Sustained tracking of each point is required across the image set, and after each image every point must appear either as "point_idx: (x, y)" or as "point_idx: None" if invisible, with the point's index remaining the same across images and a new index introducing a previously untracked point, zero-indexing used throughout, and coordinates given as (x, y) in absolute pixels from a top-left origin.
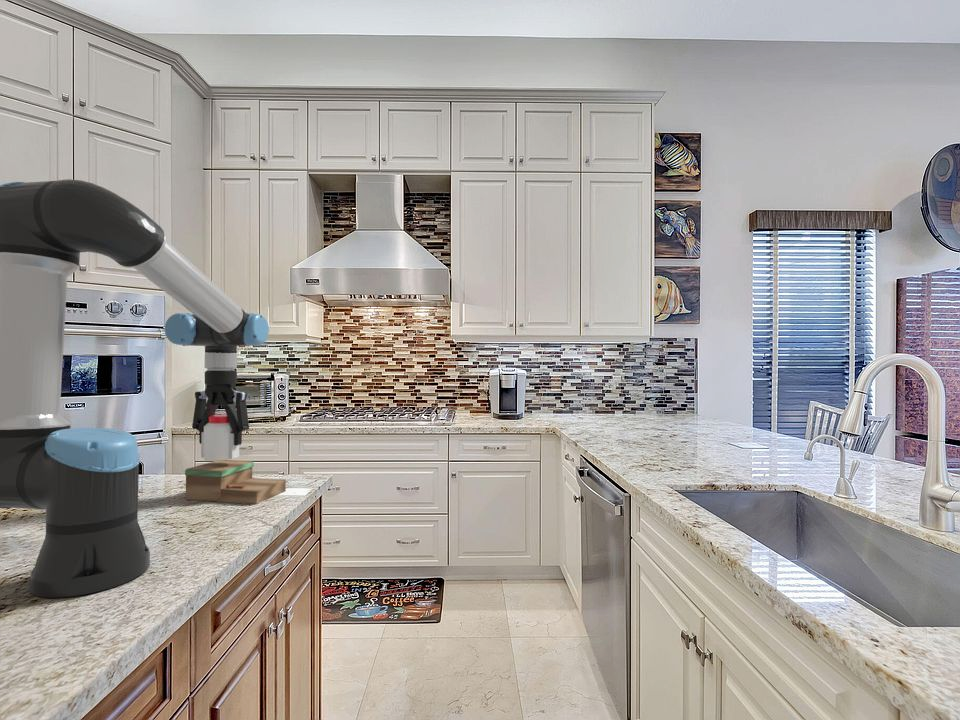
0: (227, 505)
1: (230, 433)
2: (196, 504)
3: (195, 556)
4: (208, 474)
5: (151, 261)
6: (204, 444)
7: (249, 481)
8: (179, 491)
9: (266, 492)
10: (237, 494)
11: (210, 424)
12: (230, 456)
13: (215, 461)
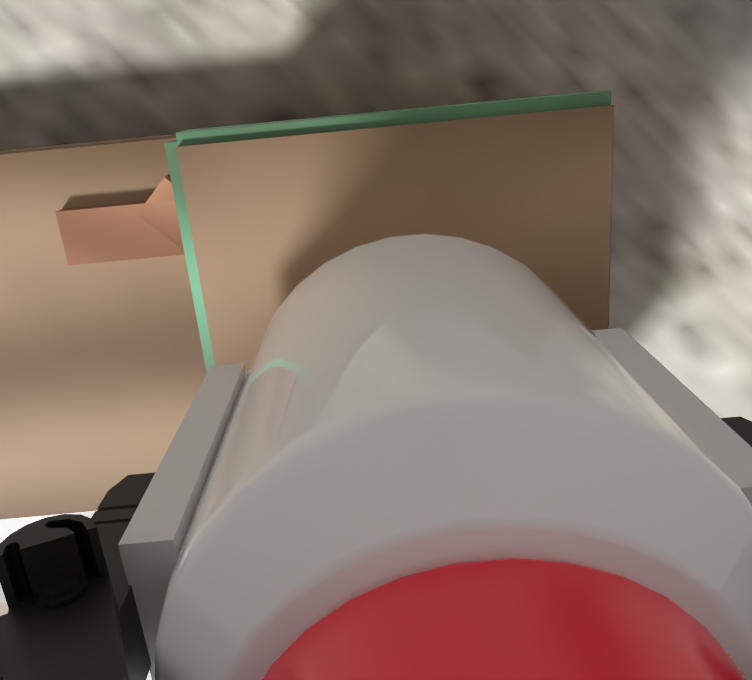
0: (95, 57)
1: (159, 541)
2: (338, 4)
3: None
4: (318, 118)
5: None
6: (545, 303)
7: None
8: (740, 252)
9: None
10: (64, 146)
11: (517, 493)
12: (227, 372)
13: None
